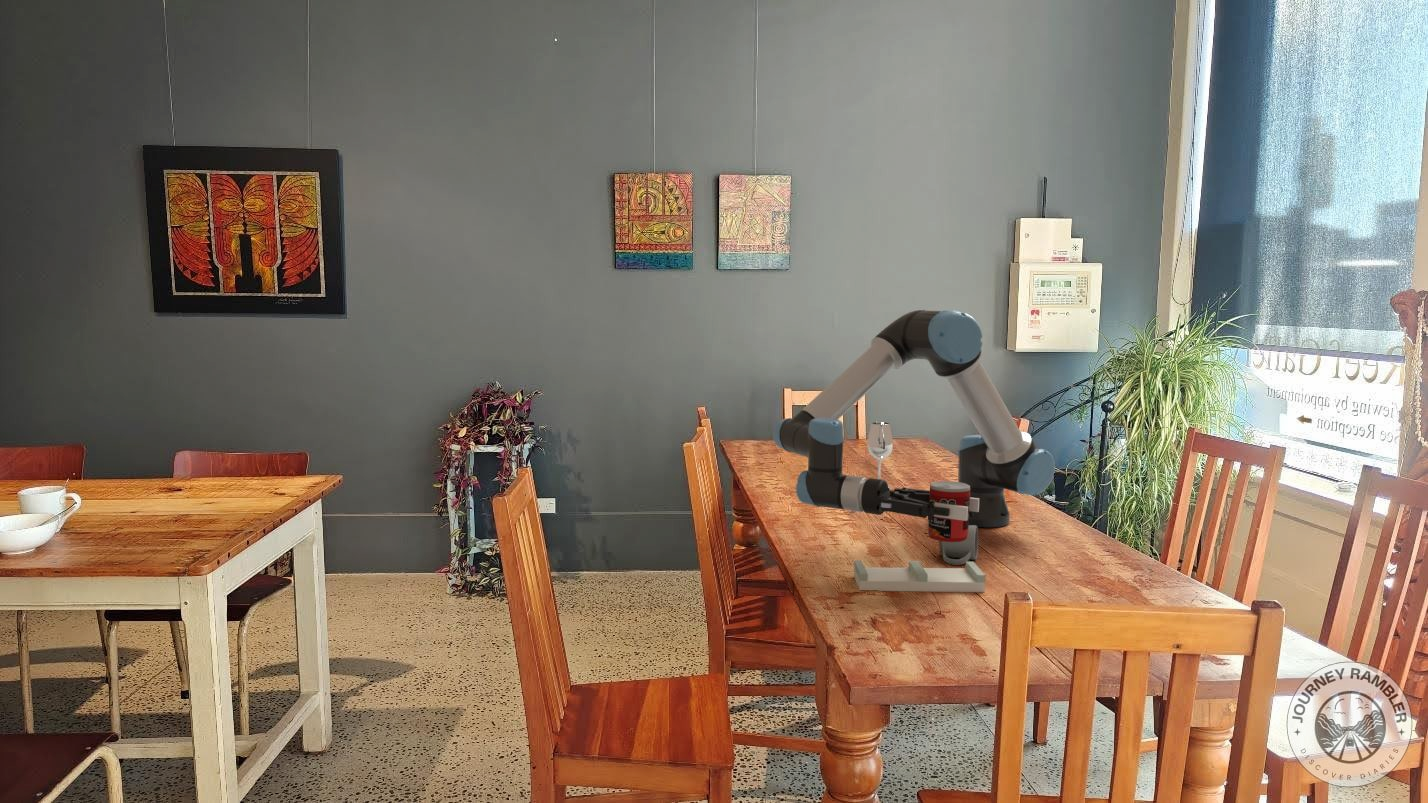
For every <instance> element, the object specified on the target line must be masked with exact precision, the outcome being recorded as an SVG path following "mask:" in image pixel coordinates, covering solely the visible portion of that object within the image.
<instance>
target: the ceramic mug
mask: <svg viewBox="0 0 1428 803" xmlns="http://www.w3.org/2000/svg"><path fill="white" fill-rule="evenodd" d="M938 548H939V549H938V550H939V553H940V555H942V559H943V561H944V562H945V563H947V564H949V565H951V564H952V566H961V565H964V564H965V565H966V562H969V561H970V560H972V561H976V560H977V559H978V553H979V527H977V526H976V525H969V527H968V536H967V539H966V540H964V541H961V542H943V541H938ZM954 558H955V559H954ZM956 558H957V559H956Z"/></svg>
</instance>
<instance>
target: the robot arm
mask: <svg viewBox="0 0 1428 803" xmlns="http://www.w3.org/2000/svg"><path fill="white" fill-rule="evenodd" d="M982 339H983V331H982V329H981V327H980V324H979V323H978V321H977V320H976V319H975V318H974V317H973V316H972V315H969V313H966V312H963V311H958V310H952V309H948V310H924V309H923V310H922V309H921V310H920V309H919V310H913V311H910V312H908V313H905V314H903V315H901V316H900V317H898V318H897V319H895V320H894V321H892V322H891V323H889V324H888V325H887V326H886V327H885V328H883V329H882V330H881V331H880V332H878V334H876V335H875V337H874V338H872V339H871V341H870V342H871V343H870V347H869V348H867V349H866V350H865V351H864V352H863V353H862V354H861V355H860V356H858V358H857V359H856V360H855V361H854V362H852V363H851V364H850V365H849V366H848V367H847V368H845V370H844V371H842V372H841V373H840V374H839V375H838V376H837V377H836V378H835V379H834V380H833V381H832V382H831V383H830V384H829V385H828V386H826V387H824V389H823V390H822V391H821V392H820V393H818V394H817V396H815V397H814V398H813V399H812V400H811V401H810V402H809V403H808V404H807V405H806V406H805V407H803V409H800V411H799V412H798V413H797V414H796V415H795V416H793V417H791V418H790V417H789V418H788V417H787V418H782V419H780V420H779V421H778V422H777V423H776V424H775V425H774V428H773V431H772V438H773V442H774V444H775V445H776V446H777V447H778V448H780V449H782V450H784V451H785V452H787V453H792V454H796V455H798V456H799V455H800V456H803V457H805V458H806V457H807V458H808V459H807V470H802V471H801V472H800V474H799V475H798V476H797V482H796V484H795V493H796V497H797V498H798V500H799V501H800V502H801V503H803V504H806V505H810V506H815V507H819V508H820V507H822V508H829V509H830V508H831V509H838V510H844V511H850V513H851V514H855V513H857V512H860V513H863V512H864V513H866V514H871V515H877V516H879V515H880V516H881V515H883V514H884V513H885V512H890V513H896V514H901V515H904V516H905V515H907V516H912V517H916V518H922V519H926V518H927V521H929V520H933V515H934V516H935V517H942V518H949V519H956V520H963V521H967V519H968V507H966V506H958V505H951V504H943V503H934V506H933V504H932V503H929V493H930V489H929V490H928V489H927V490H926V489H917V488H916V489H915V488H914V489H913V488H909V487H905V486H904V487H902V488H897V487H896V488H893V489H894V490H893V489H891V490H890V488H888V484H889V483H887V481H886V480H884V479H881V478H880V479H878V478H871V477H870V478H867V477H865V476H855V475H850V474H849V475H845V474H843V457H844V456H843V454H844V440H845V436H844V425H843V422H842V421H841V420H840V419H841V417H843V416H844V415H845V414H846V412H848V411H849V410H850V409H851V408H852V407H853V406H854V405H855V404H856V403H858V402H859V401H860V400H861V399H862V398H863V397H864V396H866V394H867V393H868V392H870V391H871V390H872V389H873V388H874V387H875V386H876V385H877V384H878V383H879V382H880V381H882V380H883V379H884V378H885V377H886V376H887V375H888V374H889V373H890V372H891V371H892V370H899V369H901V367H903V365H905V364H906V363H909V362H910V361H913V360H917V359H918V360H926V361H928V362H929V364H930V365H931V368H932V369H933V372H934V373H935V374H936V375H937V376H938V377H939V378H945V379H947V381H948V382H949V385H950V386H951V388H952V389H953V391H954V393H955V395H956V396H957V398H958V400H959V401H960V404H961V405H962V406H963V408H964V410H965V411H966V413H967V415H968V416H969V418H970V420H971V421H972V423H973V425H974V426H975V428H976V430H977V432H978V433H979V434H974V435H973V434H971V435H965V436H963V437H962V438H961V439H960V441H959V449H958V478H957V482H961V483H965V484H968V485H969V486H970V507H969V525H976V526H977V527H978V528H999V527H1005V526H1008V525H1009V524H1010V517H1011V513H1010V511H1009V508H1008V504H1007V501H1006V497H1005V490H1008V491H1011V492H1014V493H1016V494H1020V495H1026V496H1038V495H1040V494H1041V493H1043V492H1045V491H1046V490H1047V489H1048V487H1049V486H1050V484H1051V482H1052V480H1053V479H1054V473H1055V470H1056V463H1055V458H1054V457H1053V455H1052V454H1051V452H1049V451H1048V450H1046V449H1044V448H1038V447H1037V445H1036V444H1035V442H1034V439H1033V438H1032V436H1031V434H1029V433H1028V432H1027V431H1023V430H1020V428H1019V427H1018V425H1017V423H1016V422H1015V419H1014V418H1013V416H1012V415H1011V412H1010V411H1009V409H1008V407H1007V406H1006V404H1005V402H1004V401H1003V399H1002V397H1001V395H1000V393H999V392H998V390H997V388H996V386H995V385H994V383H993V380H992V379H991V377H990V376H989V374H988V372H987V371H986V369H985V367H984V365H983V364H982V362H981V360H980V359H981V357H982V355H983V351H982V347H983V341H982Z"/></svg>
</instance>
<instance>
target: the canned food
mask: <svg viewBox="0 0 1428 803" xmlns="http://www.w3.org/2000/svg"><path fill="white" fill-rule="evenodd" d="M929 491H930V493H929V503H932V504H933V506H934V503H943V504H951V505H958V506H966V507H968V519H967V521H963V520H956V519H949V518H942V517H935V516H934V515H933V520H928V525H927V528H928V529H927V531H928V532H927V533H928V537H929V538H930V539H932V540H935V541H938V542H939V541H943V542H961V541H964V540H966V539H967V536H968V527H969V507H970V486H969V485H968V484H965V483H961V482H958V481H952V480H942V481H941V480H939V481H934V482H931V483H930V484H929Z"/></svg>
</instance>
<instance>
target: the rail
mask: <svg viewBox="0 0 1428 803" xmlns="http://www.w3.org/2000/svg"><path fill="white" fill-rule="evenodd" d="M853 563H854V564H853V578H854V577H855V578H854V580H855V582H856V585H857V587H858V589H860V590H879V591H878V592H933V593H934V592H936V593H937V592H938V593H939V592H940V593H942V592H943V593H944V592H946V593H948V592H949V593H950V592H951V593H959V592H960V593H985V592H986V574H985V573H984V571H982V570H981V568H980V567H979V566H978V565H977V564H976V563H975V562H974V561H967V562H966V563H965V568H962V567H961V568H960V567H956V568H955V567H953V568H951V567H950V568H949V567H945V568H944V567H923V565H921V563H920V561H919V560H908V567H884V566H883V567H876V566H875V567H873V566H872V567H870V566H869V567H868V566H866V567H865V564H864V563H863V561H862V560H860V559H859V560H858V559H854V561H853ZM860 590H859V591H860Z"/></svg>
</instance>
